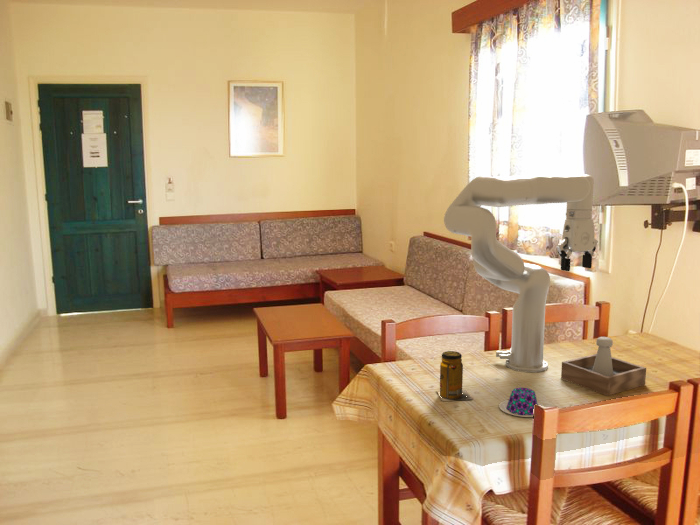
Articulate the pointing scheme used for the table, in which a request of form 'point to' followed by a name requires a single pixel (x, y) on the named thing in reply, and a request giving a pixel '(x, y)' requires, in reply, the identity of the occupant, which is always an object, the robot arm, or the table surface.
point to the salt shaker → (603, 357)
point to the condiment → (452, 377)
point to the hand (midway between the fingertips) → (576, 269)
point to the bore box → (620, 381)
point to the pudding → (520, 402)
